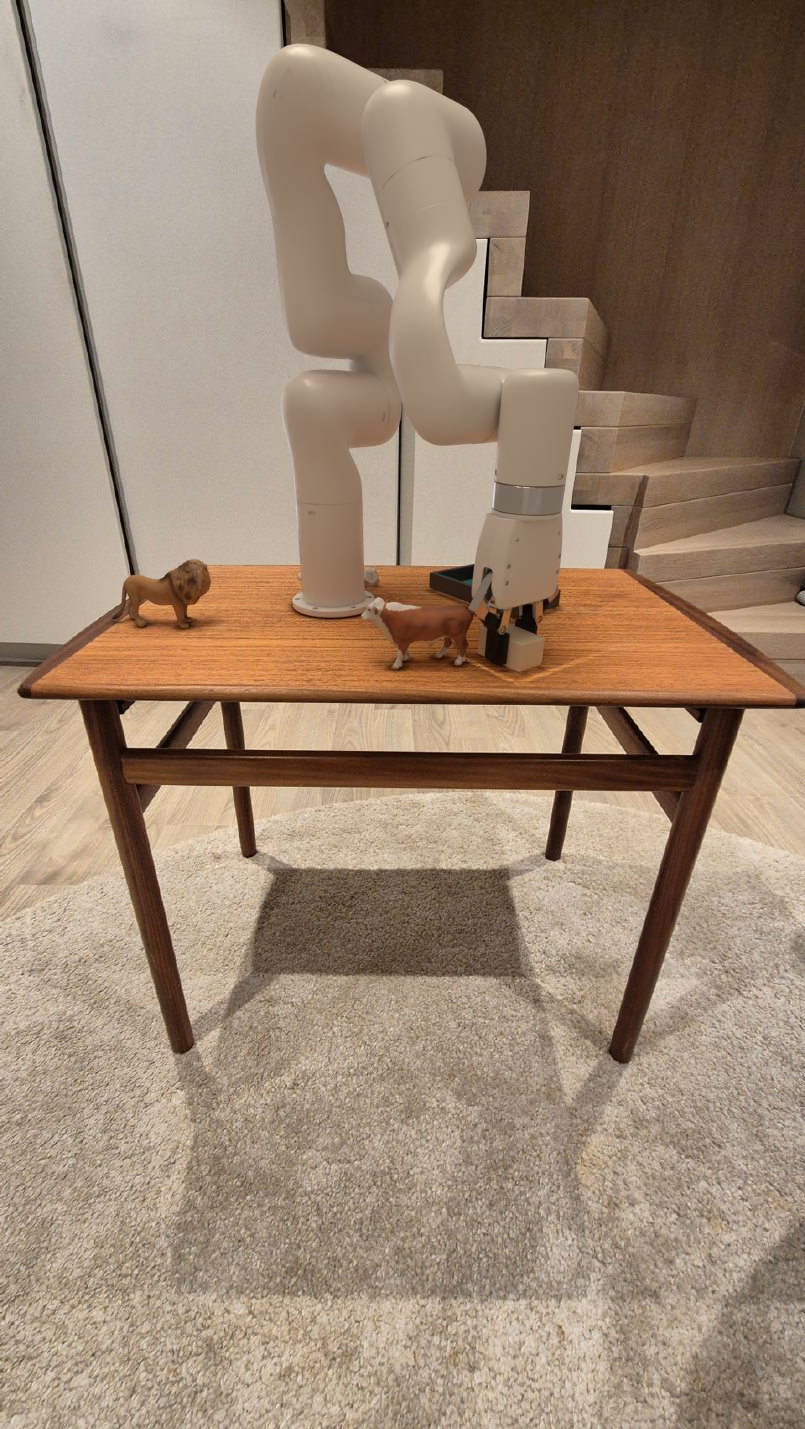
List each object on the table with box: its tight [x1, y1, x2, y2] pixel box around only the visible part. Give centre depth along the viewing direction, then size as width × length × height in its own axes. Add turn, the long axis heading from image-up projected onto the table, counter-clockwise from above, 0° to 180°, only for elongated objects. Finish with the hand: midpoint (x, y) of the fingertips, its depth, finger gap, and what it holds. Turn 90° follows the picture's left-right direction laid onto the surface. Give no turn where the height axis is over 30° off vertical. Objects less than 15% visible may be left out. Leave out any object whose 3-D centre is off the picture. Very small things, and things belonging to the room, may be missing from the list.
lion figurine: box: [110, 558, 212, 630], centre depth 83 cm, size 15×5×9 cm, turn 92°
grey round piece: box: [364, 567, 381, 589], centre depth 101 cm, size 4×4×3 cm
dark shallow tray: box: [428, 563, 562, 620], centre depth 95 cm, size 10×19×3 cm, turn 37°
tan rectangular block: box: [477, 622, 546, 673], centre depth 73 cm, size 4×7×4 cm, turn 37°
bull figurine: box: [360, 596, 474, 671], centre depth 71 cm, size 4×13×8 cm, turn 94°
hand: (509, 655), depth 73 cm, fingers closed on tan rectangular block, 4 cm apart
